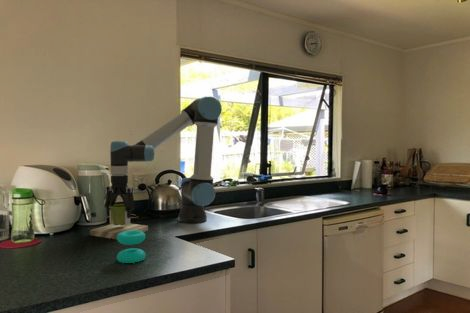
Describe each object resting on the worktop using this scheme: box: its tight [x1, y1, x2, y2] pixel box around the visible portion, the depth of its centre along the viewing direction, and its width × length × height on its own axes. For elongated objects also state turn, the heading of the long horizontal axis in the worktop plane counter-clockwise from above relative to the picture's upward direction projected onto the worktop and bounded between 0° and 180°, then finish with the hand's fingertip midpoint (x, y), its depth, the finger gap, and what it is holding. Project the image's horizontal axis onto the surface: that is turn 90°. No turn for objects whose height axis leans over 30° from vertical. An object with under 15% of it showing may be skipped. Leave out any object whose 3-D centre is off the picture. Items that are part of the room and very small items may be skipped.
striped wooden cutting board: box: [89, 223, 149, 240], centre depth 176 cm, size 18×18×3 cm
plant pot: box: [109, 203, 126, 226], centre depth 175 cm, size 9×9×9 cm
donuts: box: [116, 230, 147, 264], centre depth 136 cm, size 10×10×10 cm
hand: (119, 223), depth 176 cm, fingers closed on plant pot, 8 cm apart
